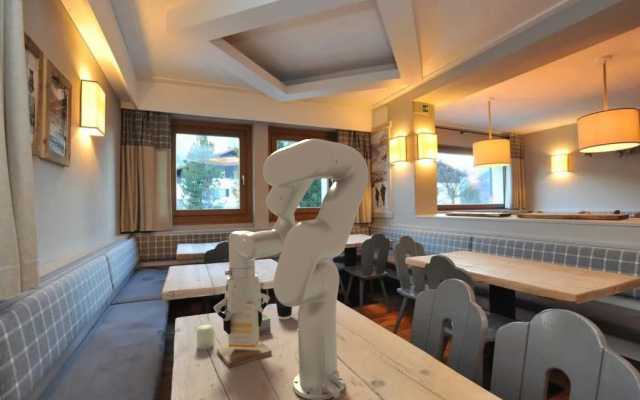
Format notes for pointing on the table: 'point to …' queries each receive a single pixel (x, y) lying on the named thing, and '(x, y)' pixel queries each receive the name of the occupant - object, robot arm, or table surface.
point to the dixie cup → (283, 310)
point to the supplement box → (244, 327)
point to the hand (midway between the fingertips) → (243, 328)
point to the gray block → (264, 325)
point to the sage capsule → (205, 337)
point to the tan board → (243, 354)
